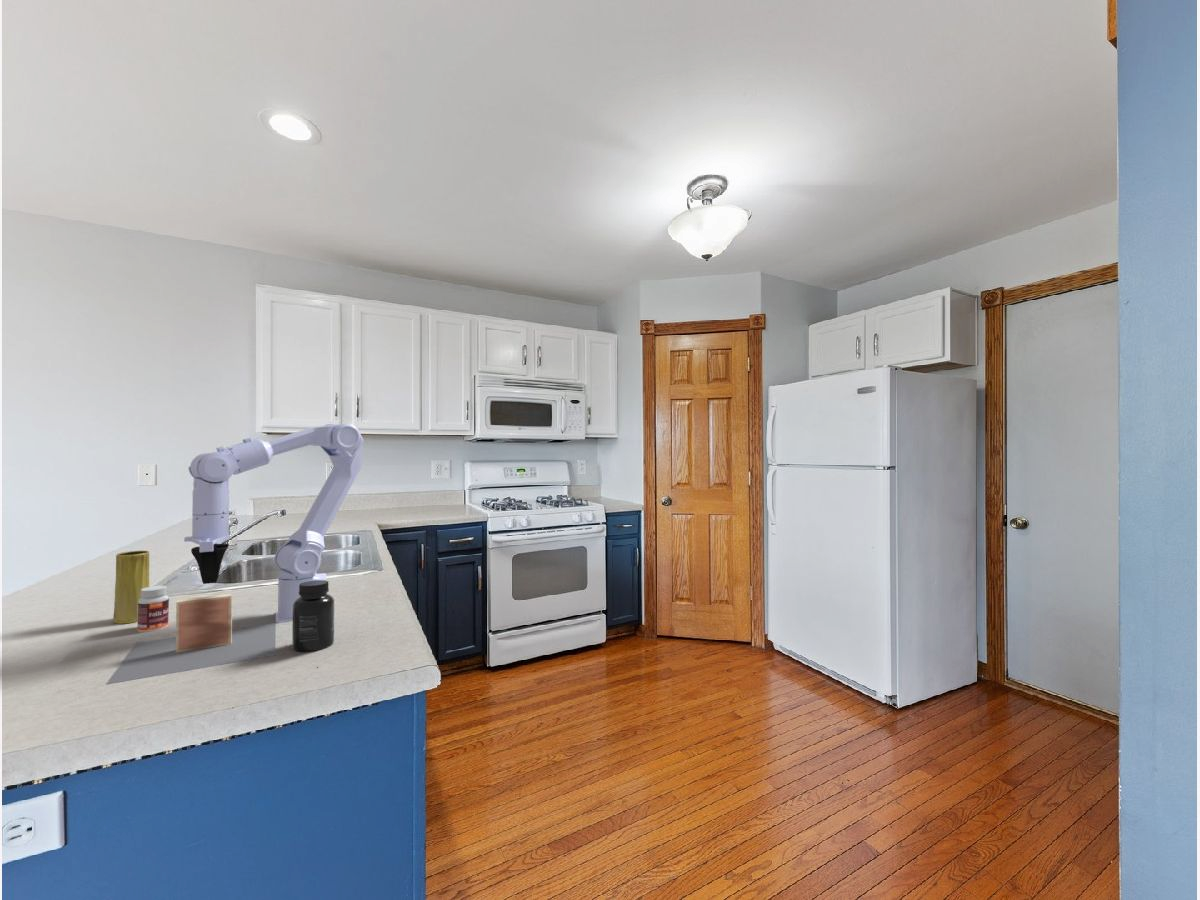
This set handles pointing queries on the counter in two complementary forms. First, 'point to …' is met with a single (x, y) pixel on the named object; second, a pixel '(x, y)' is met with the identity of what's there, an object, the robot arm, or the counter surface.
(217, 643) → the tile
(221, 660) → the mat
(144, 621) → the pill bottle
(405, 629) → the counter surface
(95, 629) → the counter surface
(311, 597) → the supplement bottle
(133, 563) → the vase
